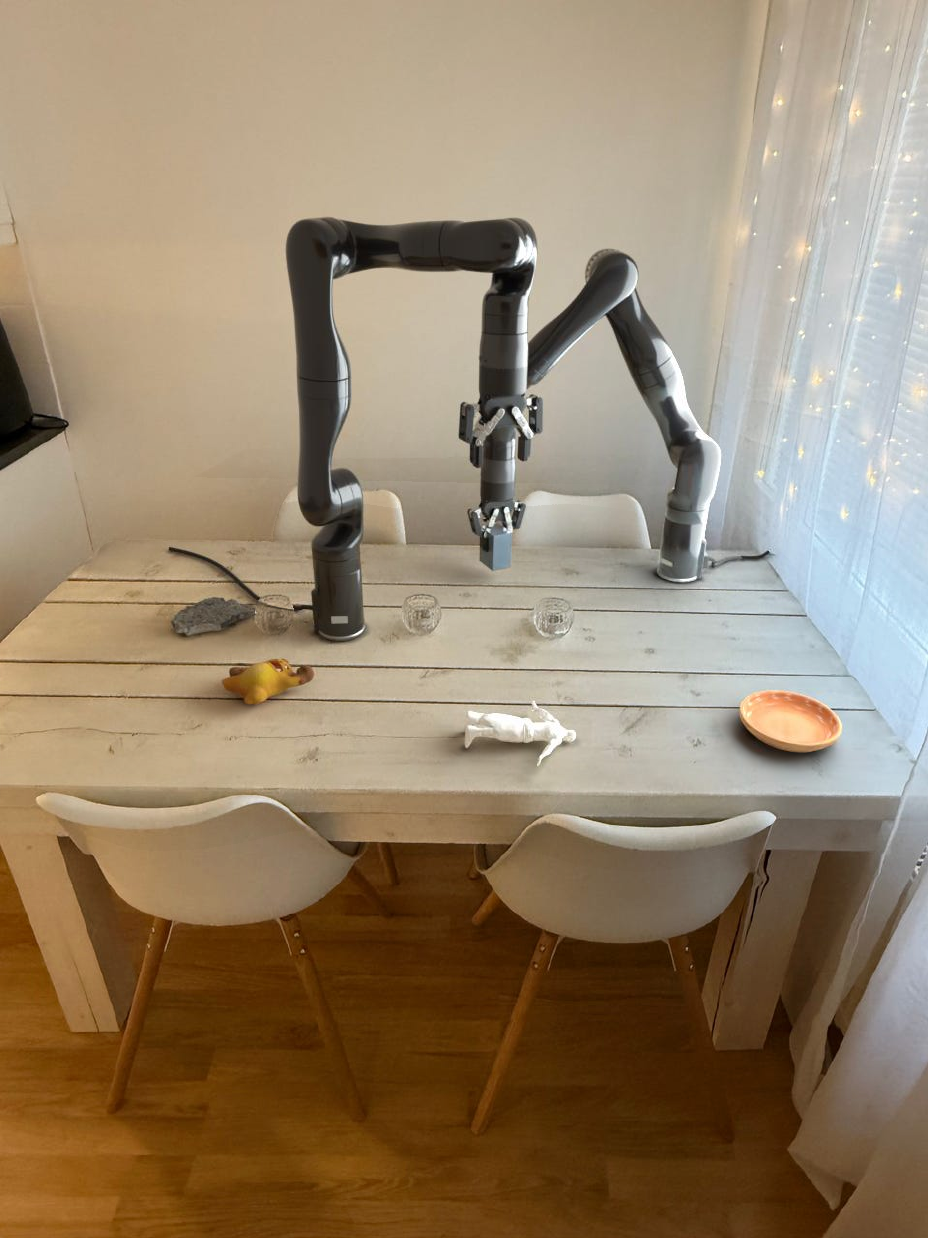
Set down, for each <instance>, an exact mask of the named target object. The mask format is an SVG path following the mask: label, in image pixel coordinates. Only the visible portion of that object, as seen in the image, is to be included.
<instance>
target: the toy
mask: <svg viewBox="0 0 928 1238" xmlns="http://www.w3.org/2000/svg"><path fill="white" fill-rule="evenodd" d="M228 671H229V672H228V674H229V677H225V678H222V679H221V684H222V686H223V689H224V690H225V691H228V692H230V693H235V694H237V695H238V696H240V697H241V698H242V699H243V700H244V703H245V704H246V705H259V704H261V703H263V702H265V701H266V700H267V699H269V698H271V697H274V696H277V695H280V694H282V693H283V692H284V691H286V690H287V689H290V688H296V687H299V686H303V685H305V684H307V683H310V682H311V681H313V679H314V677H315V671H314V669H313V667H311V666H310V665H308V664H301V665H300V666H299V667H298V668H297V669H296V671H295V672H294V670H293V667H292V666H291V664H289V661H288V660H286V658H271V659H268V660H266V661H265V660H264V661H260V662H255V663H254V664H251V665H250V666H247V667H245V666H244V667H239V666H232V667H230V668H229V670H228Z"/></svg>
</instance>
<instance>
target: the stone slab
mask: <svg viewBox="0 0 928 1238" xmlns="http://www.w3.org/2000/svg"><path fill="white" fill-rule="evenodd" d="M255 610H256V607H255V606H253V605H252V604H246V603H243V604H241V603H239V601H237V600H236V599H232V598H231V599H228V600H226V599H225V598H224V597H217V596H212V597H208V598H203V600H200V601H198V602H196V603H195V604H193V605H186V606H185V607H184V608H183V609H180V610H179V611H178V612H177V613H176V614H174V615H173V617H172V619H171V621H170V623H171V626H173V629H174V633H177V634H182V635H184V636H186V637H187V636H194V635H197V634H201V633H207V632H216V631H218V632H219V631H222V630H224V629H225V628H227V627H228V626H229V625H230V624H232V623H233V622H236V621H239V620H245V619H246V618H248V617H252V616H255V615H256V614H255Z"/></svg>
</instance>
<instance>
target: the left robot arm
mask: <svg viewBox="0 0 928 1238" xmlns="http://www.w3.org/2000/svg"><path fill="white" fill-rule="evenodd" d="M536 234H537V233H536V231H535V230H534V228H533V226H532V225H531V224H530V223H529V222H528V221H527V220H525V219H524V218H521V217H506V218H495V219H484V220H473V221H472V220H471V221H463V220H448V219H447V220H425V221H424V220H423V221H413V222H405V223H398V224H397V223H396V224H369V223H362V222H356V221H352V220H351V221H350V220H346V219H342V218H341V219H340V218H335V217H333V216H321V217H320V216H319V217H309V218H303V219H300V220H297V221H296V222H294V224H293V225H291V227H290V229H289V230H288V233H287V236H286V239H285V261H286V262H285V263H286V269H287V276H288V283H289V289H290V297H291V302H292V303H291V304H292V313H293V325H294V327H293V328H294V340H295V342H294V343H295V357H296V359H295V360H296V364H295V365H296V366H295V367H296V368H295V369H296V370H295V371H296V391H297V405H298V427H299V428H298V430H299V431H298V432H299V451H298V452H299V453H298V470H297V486H296V487H297V490H296V491H297V502H298V506H299V510H300V513H301V514H302V515H301V516H302V517H303V518H304V520H305V521H306V522H307V523H308V524H310V525H311V526H312V527H313V526H314V527H321V528H320V530H319V531H318V532H317V533H316V534H315V535H314V536H313V538H312V540H311V544H310V545H311V557H312V568H313V581H314V588H313V589H312V590H311V591H310V597H311V604H303V605H302V604H301V605H292V606H293V608H294V610H293V611H300V612H301V611H303V610H305V611H306V610H307V611H312V620H313V629H314V634H315V635H318V636H320V637H321V638H323V639H325V640H328V641H331V642H332V641H333V642H345V641H346V642H347V641H351V640H355V639H358V638H359V637H360V636H362V635H363V634H364V633H365V631H366V623H365V613H364V612H365V610H364V594H363V593H364V592H363V575H362V574H363V573H362V560H361V544H362V542H363V539H364V494H363V489H362V485H361V483H360V480H359V479H358V477H357V475H356V474H355V473H354V472H352V471H351V470H350V469H348V468H346V467H336V468H332V462H333V461H332V460H333V454H334V449H335V446H336V443H337V441H338V439H339V436H340V434H341V432H342V430H343V427H344V425H345V423H346V420H347V418H348V415H349V411H350V408H351V405H352V367H351V361H350V357H349V354H348V351H347V349H346V346H345V344H344V342H343V340H342V338H341V335H340V333H339V330H338V327H337V325H336V321H335V316H334V307H333V306H334V304H333V302H334V301H333V299H334V298H333V286H334V285H333V284H334V280H338V279H341V278H343V277H345V276H347V275H351V274H355V273H359V272H363V271H368V270H374V269H396V270H404V271H408V272H409V271H410V272H418V273H419V272H420V273H454V272H456V273H457V272H462V271H464V272H473V273H483V274H491V280H490V281H491V282H490V286H489V288H488V290H487V291H486V292H485V293H484V295H483V297H482V301H481V302H482V303H481V333H480V340H479V348H478V349H479V354H478V394H479V399H478V400H477V403H474V402H473V403H468V402H466V401H462V402H461V403H460V405H459V406H460V408H459V421H458V422H459V423H458V439H459V440H461V441H462V442H464V443H466V444H468V445H469V462H470V464H472V466H473V467H474V468H476V469H481V468H482V459H483V441H484V439H485V438H486V436H487V435H489V434H490V433H491V432H492V430H493V429H494V428H495V429H500V428H503V427H513V426H514V427H515V428H516V432H518V434H519V435H520V436H517V454H516V455H517V456H516V457H517V459H518V460H519V461H521V462H528V460H529V458H530V457H531V449H532V439H533V437H534V436H536V435H537V434H538V435H540V434H542V433H543V430H544V399H543V398H542V397H541V396H538V395H536V394H534V393H531V394H529V396H527V397H526V393H527V390H528V389H527V368H528V342H529V338H528V337H529V336H528V327H529V325H528V324H529V300H530V294H531V291H532V287H533V283H534V278H535V273H536V268H537V267H536V266H537V262H538V238H537V235H536ZM526 408H527V409H528V422H527V421H526V419H525V417H524V416H523V412H524V411H525V410H526ZM477 413H479V415H480V416H479V417H478V419H477V420H476V422H475V421H474V420H475V419H474V418H476V417H477ZM474 422H475V424H474ZM485 423H486V425H485ZM168 551H169V552H173V553H178V554H182V555H186V556H190V557H193V558H196V559H199V560H202V561H205V562H207V563H208V564H211V565H213V566H214V567H217V568H218V569H219V570H222V571H223V572H224V573H225V574H226V575H228V576H229V577H230V578H231V579H232V580H233V581H234V582H235V583H236V584H237V585H238V586H239V587H241V588H242V590H244V591H245V592H246V593H247V594H248V595H249V596H251V597H252V599H254V600H256V601H257V602H259V601H258V600H259V599H260V598H262V597H261V596H259V595H257V594H256V593H255V592H254V591H253V590H252V589H251V588H250V587H248V586H247V585H246V584H245V583H244V582H243V581H242V580H241V579H240V578H238V577H237V575H235V574H234V573H233V572H232V571H230V570H229V569H228V568H227V567H225V566H224V565H222V564H221V563H219V562H218V561H216V560H214V559H211V558H210V557H207V556H204V555H202V554H199V553H196V552H193V551H190V550H186V549H181V548H177V547H173V546H169V547H168Z"/></svg>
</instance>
